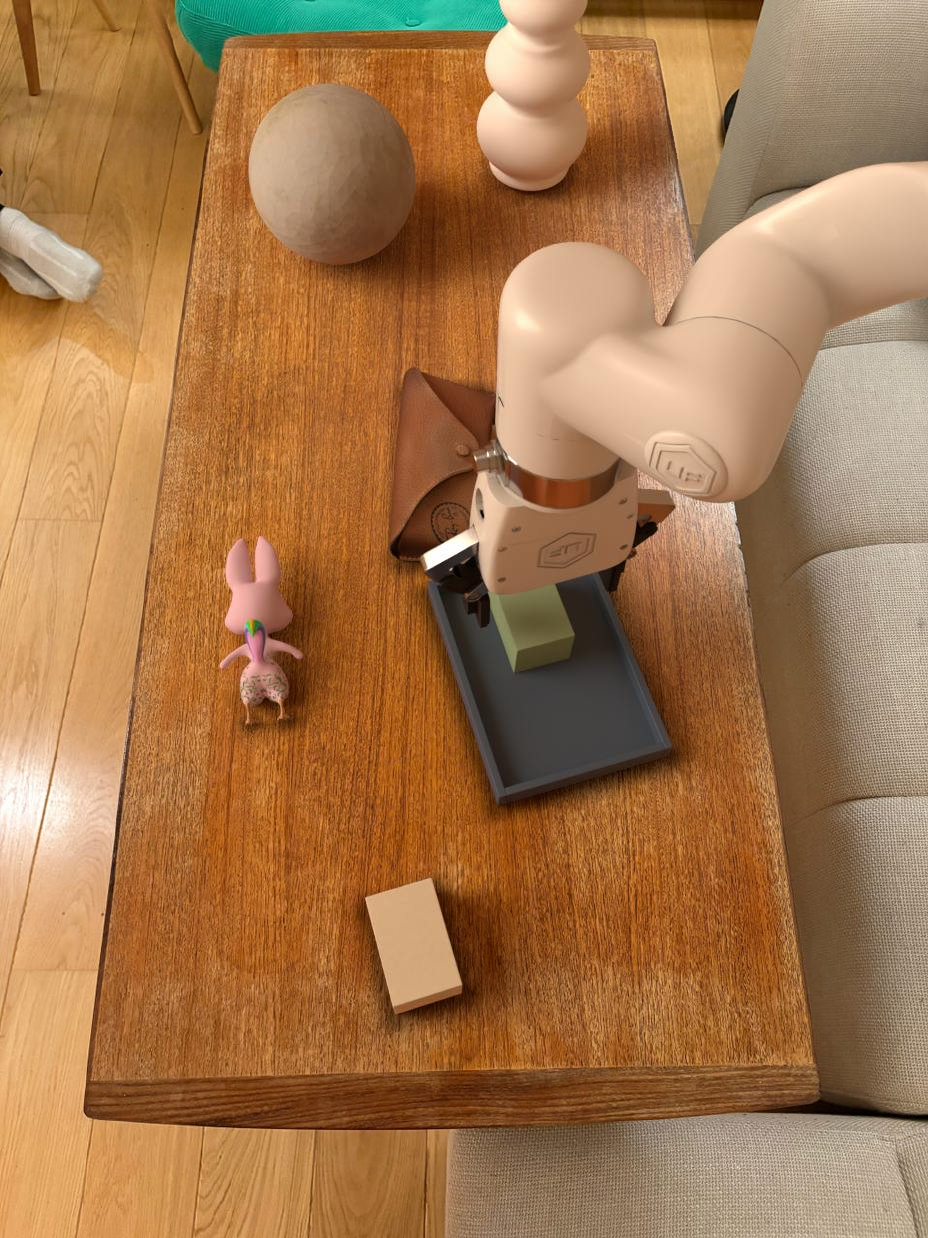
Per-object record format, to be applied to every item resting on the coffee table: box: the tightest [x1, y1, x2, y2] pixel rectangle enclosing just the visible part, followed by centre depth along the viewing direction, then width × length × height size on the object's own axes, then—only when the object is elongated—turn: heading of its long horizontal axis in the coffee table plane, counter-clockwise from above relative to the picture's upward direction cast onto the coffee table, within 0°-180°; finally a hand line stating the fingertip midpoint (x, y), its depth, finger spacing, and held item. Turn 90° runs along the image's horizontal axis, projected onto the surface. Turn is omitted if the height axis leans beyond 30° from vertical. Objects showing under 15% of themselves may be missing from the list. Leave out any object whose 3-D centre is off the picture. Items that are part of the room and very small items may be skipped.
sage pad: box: [488, 584, 575, 673], centre depth 77 cm, size 4×7×4 cm, turn 17°
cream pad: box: [365, 877, 463, 1015], centre depth 66 cm, size 4×7×4 cm, turn 17°
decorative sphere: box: [247, 83, 417, 266], centre depth 91 cm, size 15×15×15 cm
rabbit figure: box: [219, 535, 304, 726], centre depth 76 cm, size 6×6×15 cm
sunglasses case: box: [388, 366, 496, 563], centre depth 84 cm, size 18×7×7 cm
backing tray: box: [427, 567, 674, 807], centre depth 76 cm, size 13×18×2 cm
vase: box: [476, 0, 591, 192], centre depth 92 cm, size 11×11×25 cm
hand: (541, 592), depth 73 cm, fingers open, 9 cm apart
